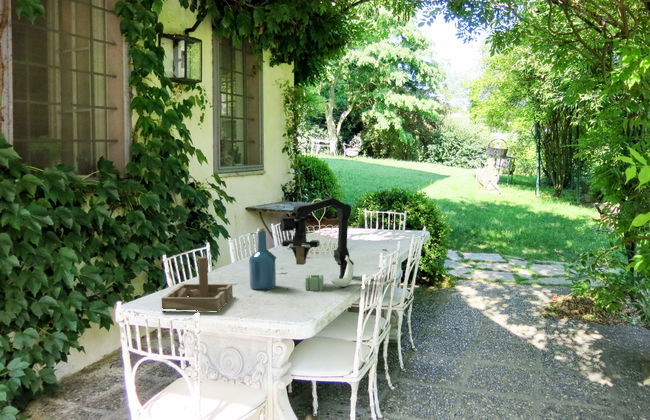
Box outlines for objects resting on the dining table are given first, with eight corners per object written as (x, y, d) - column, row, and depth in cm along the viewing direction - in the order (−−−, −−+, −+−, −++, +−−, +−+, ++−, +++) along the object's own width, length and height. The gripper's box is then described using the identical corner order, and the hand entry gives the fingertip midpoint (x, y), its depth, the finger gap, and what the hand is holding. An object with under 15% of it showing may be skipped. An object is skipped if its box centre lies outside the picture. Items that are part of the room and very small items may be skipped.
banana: (330, 290, 281) (330, 260, 280) (347, 282, 298) (346, 254, 297) (339, 291, 279) (339, 261, 278) (355, 283, 296) (355, 255, 294)
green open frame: (307, 286, 289) (307, 274, 289) (323, 286, 289) (323, 274, 288) (305, 290, 281) (305, 278, 281) (322, 290, 281) (321, 278, 280)
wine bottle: (251, 291, 281) (250, 230, 278) (248, 285, 294) (246, 227, 291) (279, 289, 285) (278, 229, 282) (274, 283, 297) (273, 225, 294)
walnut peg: (298, 263, 300) (298, 245, 299) (305, 263, 299) (305, 246, 298) (296, 264, 296) (296, 247, 295) (303, 264, 295) (303, 247, 294)
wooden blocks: (169, 305, 257) (167, 261, 256) (207, 297, 271) (205, 255, 269) (190, 312, 245) (187, 266, 243) (228, 303, 259) (226, 259, 257)
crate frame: (182, 296, 273) (182, 283, 272) (232, 296, 271) (232, 284, 270) (162, 311, 246) (161, 298, 245) (217, 312, 244) (216, 298, 243)
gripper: (278, 231, 290) (279, 262, 291) (314, 232, 286) (314, 263, 287) (284, 228, 301) (285, 258, 302) (319, 229, 296) (320, 259, 298)
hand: (301, 259), depth 297 cm, fingers closed on walnut peg, 4 cm apart
